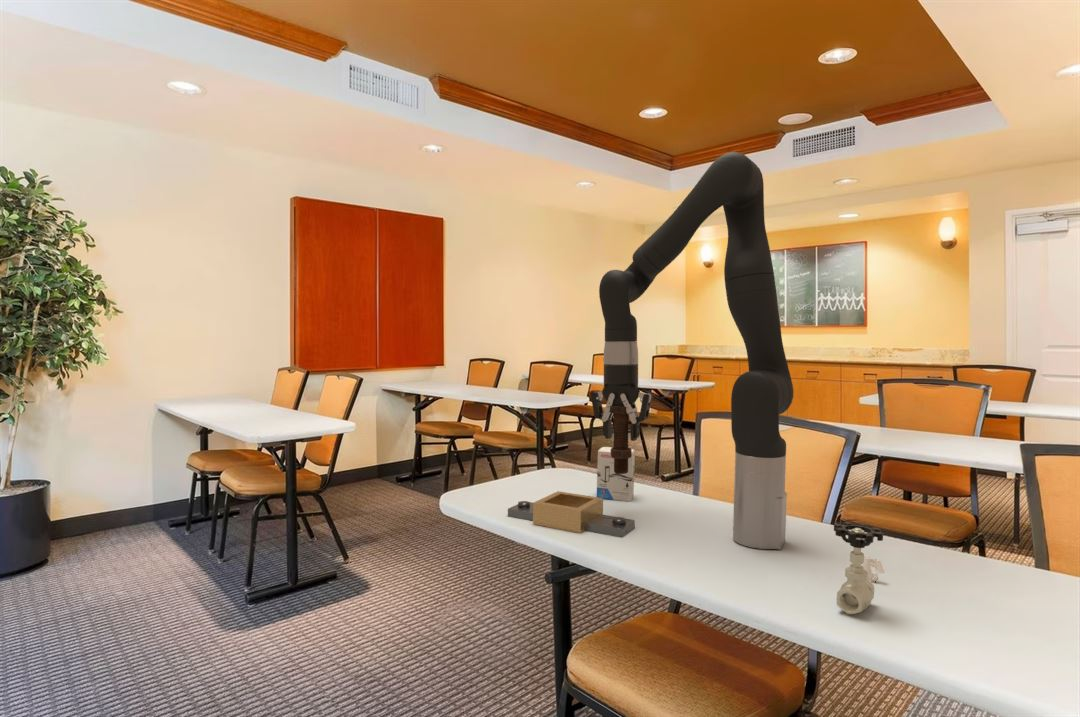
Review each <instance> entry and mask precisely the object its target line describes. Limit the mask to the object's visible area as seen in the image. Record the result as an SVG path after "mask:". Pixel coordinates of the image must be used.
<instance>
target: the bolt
mask: <svg viewBox="0 0 1080 717" xmlns="http://www.w3.org/2000/svg"><path fill="white" fill-rule="evenodd" d="M631 408H632V409H633V406H631ZM610 413H613V415H612V418H613V447H612V448H611V457H612V458H614V472H615V473H616V474H626V473H628V458H631V456H632V451H631V449H632V448H631V447H629V421H630V417H629V415H628V414H627V412H626V406H615V405H612V406H610Z"/></svg>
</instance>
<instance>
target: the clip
mask: <svg viewBox="0 0 1080 717" xmlns="http://www.w3.org/2000/svg"><path fill="white" fill-rule="evenodd" d="M861 566H863V567H864V570H866V571H867V572H868V579H867V580H868V581H872V582H874V583H875V581H877V582H878V580H879V576H878V574H877V573H880V574H881V573H882V574H885V570H884V567H883V565H882V562H881V560H877V558H871V557H869V556H865V555H864V563H863V564H861ZM872 567H873V568H875V569H874V570H875V572H877V573H872Z"/></svg>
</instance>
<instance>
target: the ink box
mask: <svg viewBox="0 0 1080 717" xmlns="http://www.w3.org/2000/svg"><path fill="white" fill-rule="evenodd" d="M611 448H613V447H610V446H602V447H599V449H598V450H597V465H596V466H597V467H596V468H597V469H596V470H597V471H596V472H597V473H596V497H598V498H603V500H610V499H612V500H611V501H621V502H631V501H632V500H633V498H634V488H635V465H636V464H635V461H636V460H635V456H636V449H633V448H631V451H632V456H631V458H628V473H626V474H616V473H615V472H614V458H612V457H611Z"/></svg>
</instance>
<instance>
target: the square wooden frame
mask: <svg viewBox="0 0 1080 717" xmlns="http://www.w3.org/2000/svg"><path fill="white" fill-rule="evenodd" d="M532 503H533V521H532V525H536V526H541V527H548V528H551V529H555V530H556V529H557V530H562V531H567V532H572V533H577V534H581V533H583V532H584V531H585V522H587V521H588V520H590V519H592V518H593V517H595V516H597V515H598V514H603V515H604V499H603V498H598V497H597V496H591V495H585V494H579V493H578V494H577V493H571V492H565V491H559V490H557V491H555V492H553V493H552V494H549V495H547V496H544V497H542V498H540V499H538V500H536V501H534V502H532ZM585 532H586V531H585Z"/></svg>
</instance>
